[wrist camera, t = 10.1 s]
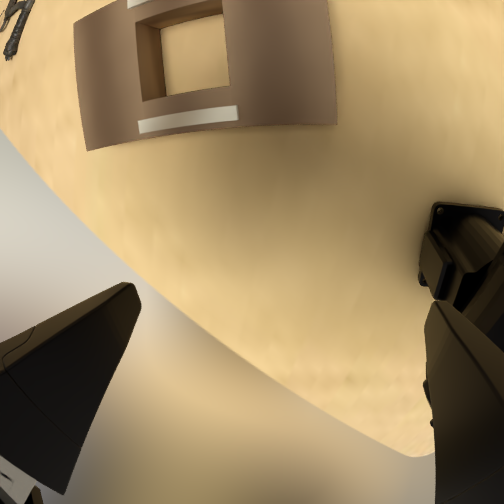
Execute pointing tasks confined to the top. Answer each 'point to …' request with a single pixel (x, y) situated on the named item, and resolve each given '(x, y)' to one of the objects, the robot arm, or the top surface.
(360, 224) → the top surface
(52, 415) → the robot arm
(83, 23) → the socket block
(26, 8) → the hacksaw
